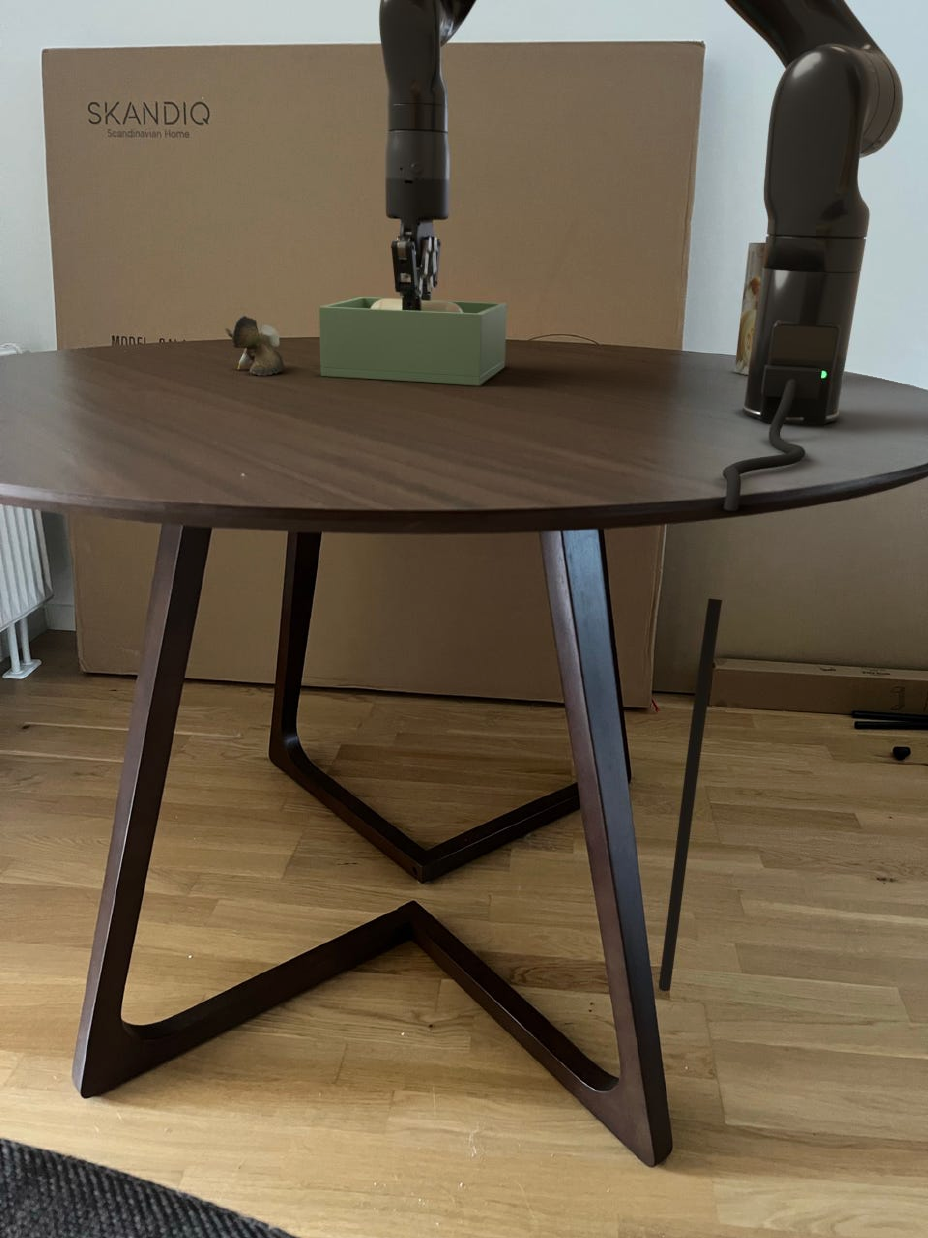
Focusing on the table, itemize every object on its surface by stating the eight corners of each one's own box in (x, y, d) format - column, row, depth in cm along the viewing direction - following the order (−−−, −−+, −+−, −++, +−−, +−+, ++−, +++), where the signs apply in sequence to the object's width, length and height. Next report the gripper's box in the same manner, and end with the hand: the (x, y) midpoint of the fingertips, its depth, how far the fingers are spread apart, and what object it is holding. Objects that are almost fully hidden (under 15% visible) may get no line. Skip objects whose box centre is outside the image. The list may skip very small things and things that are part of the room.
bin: (479, 385, 116) (481, 314, 113) (320, 376, 119) (318, 306, 116) (504, 367, 130) (507, 303, 127) (361, 359, 134) (360, 296, 130)
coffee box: (818, 380, 125) (839, 244, 119) (778, 383, 122) (798, 244, 116) (769, 370, 133) (786, 241, 126) (730, 372, 130) (746, 241, 124)
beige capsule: (459, 338, 120) (460, 303, 118) (365, 333, 122) (364, 299, 121) (467, 334, 124) (467, 300, 122) (375, 329, 126) (374, 296, 124)
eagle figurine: (209, 356, 124) (218, 352, 116) (236, 306, 125) (247, 298, 116) (263, 388, 128) (275, 386, 119) (289, 339, 128) (304, 334, 119)
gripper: (403, 176, 123) (403, 320, 130) (367, 172, 110) (369, 332, 117) (462, 177, 122) (459, 323, 128) (433, 173, 109) (431, 335, 115)
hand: (416, 326), depth 123 cm, fingers closed on beige capsule, 4 cm apart
